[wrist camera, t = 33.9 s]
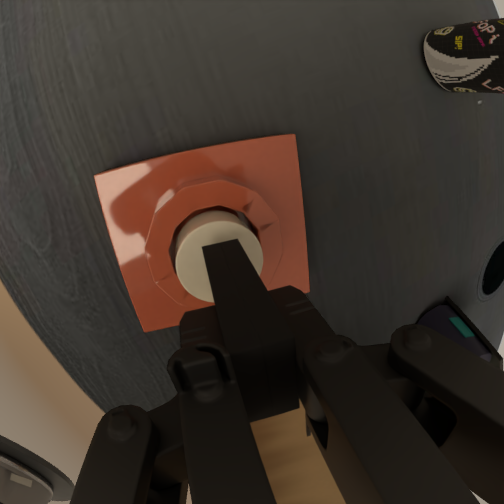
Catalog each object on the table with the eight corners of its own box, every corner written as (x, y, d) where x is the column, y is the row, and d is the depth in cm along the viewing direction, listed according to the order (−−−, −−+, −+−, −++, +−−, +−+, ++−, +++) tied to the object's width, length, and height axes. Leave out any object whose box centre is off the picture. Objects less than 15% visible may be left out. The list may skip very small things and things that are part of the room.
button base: (146, 314, 20) (142, 351, 16) (102, 170, 16) (83, 180, 12) (298, 277, 21) (322, 306, 18) (282, 133, 17) (309, 133, 14)
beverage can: (422, 87, 18) (554, 91, 7) (412, 24, 16) (533, 2, 5) (462, 96, 19) (573, 108, 8) (454, 39, 17) (560, 33, 6)
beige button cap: (185, 291, 16) (187, 311, 14) (167, 220, 14) (165, 232, 12) (258, 274, 16) (268, 292, 15) (246, 202, 15) (257, 212, 13)
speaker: (459, 283, 27) (519, 341, 18) (455, 318, 29) (505, 374, 20) (405, 316, 27) (463, 388, 18) (406, 349, 30) (452, 415, 20)
